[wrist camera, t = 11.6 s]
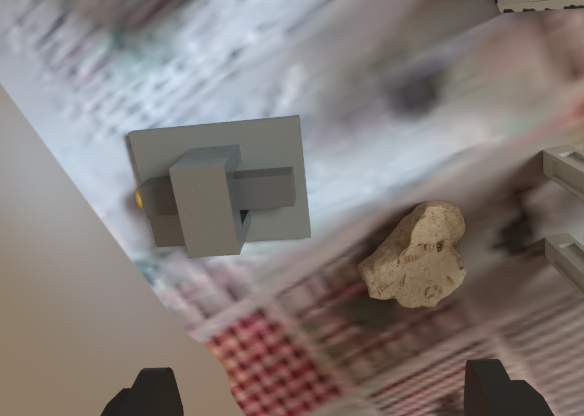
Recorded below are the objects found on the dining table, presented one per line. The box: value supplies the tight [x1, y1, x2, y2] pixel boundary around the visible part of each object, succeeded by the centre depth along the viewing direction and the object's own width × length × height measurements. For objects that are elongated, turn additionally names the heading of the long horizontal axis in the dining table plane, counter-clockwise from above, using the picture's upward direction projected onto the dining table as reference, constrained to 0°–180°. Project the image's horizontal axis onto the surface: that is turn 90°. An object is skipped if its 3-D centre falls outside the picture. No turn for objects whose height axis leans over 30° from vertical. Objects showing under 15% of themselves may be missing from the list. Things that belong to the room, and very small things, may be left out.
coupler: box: [128, 115, 311, 247], centre depth 40 cm, size 12×16×4 cm
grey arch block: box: [169, 144, 252, 258], centre depth 38 cm, size 8×4×6 cm, turn 6°
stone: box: [358, 200, 467, 308], centre depth 41 cm, size 9×11×5 cm
